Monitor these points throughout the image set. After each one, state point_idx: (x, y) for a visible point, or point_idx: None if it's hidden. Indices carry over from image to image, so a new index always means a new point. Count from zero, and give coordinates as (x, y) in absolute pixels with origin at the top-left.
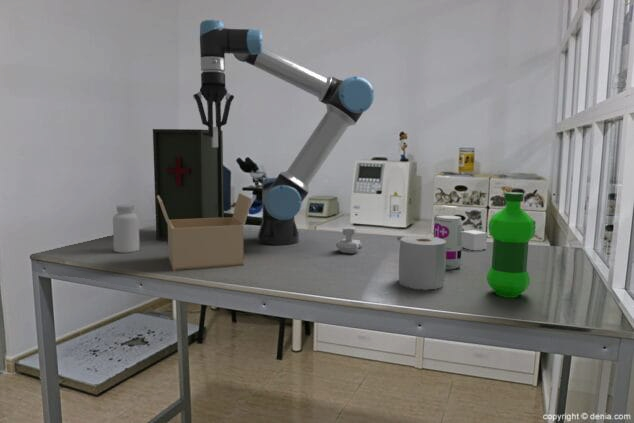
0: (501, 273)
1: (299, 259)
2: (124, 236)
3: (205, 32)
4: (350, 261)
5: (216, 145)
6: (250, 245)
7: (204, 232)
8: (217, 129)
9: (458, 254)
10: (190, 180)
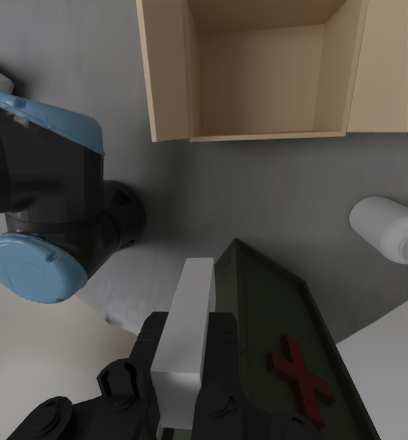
0: None
1: (92, 54)
2: (397, 204)
3: None
4: (3, 9)
5: (194, 264)
6: (161, 194)
7: None
8: (160, 347)
9: None
10: (264, 339)
